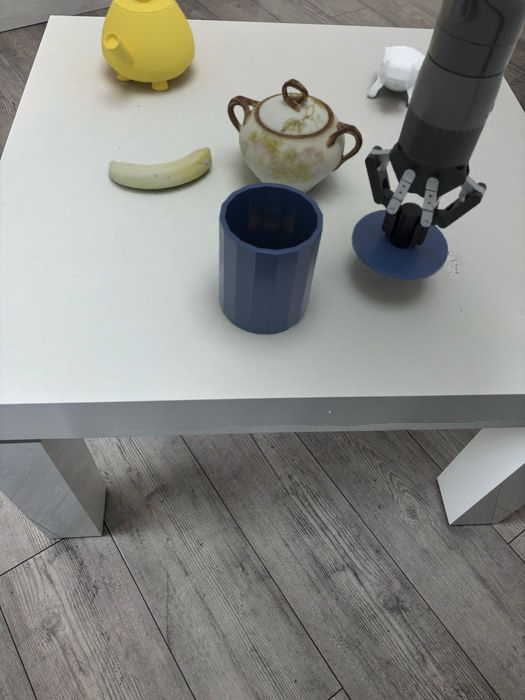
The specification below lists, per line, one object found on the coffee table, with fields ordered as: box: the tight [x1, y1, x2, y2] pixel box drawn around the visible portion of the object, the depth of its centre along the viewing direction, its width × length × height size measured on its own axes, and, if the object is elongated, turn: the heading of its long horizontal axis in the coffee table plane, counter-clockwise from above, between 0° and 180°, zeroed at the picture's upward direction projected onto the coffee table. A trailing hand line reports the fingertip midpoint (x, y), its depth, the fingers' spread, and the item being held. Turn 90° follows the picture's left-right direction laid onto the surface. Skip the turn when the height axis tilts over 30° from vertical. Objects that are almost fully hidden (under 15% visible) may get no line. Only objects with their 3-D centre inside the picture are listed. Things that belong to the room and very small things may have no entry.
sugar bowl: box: [226, 78, 364, 193], centre depth 76 cm, size 20×15×15 cm
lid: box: [351, 201, 449, 281], centre depth 65 cm, size 12×12×6 cm
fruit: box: [108, 146, 213, 190], centre depth 78 cm, size 7×15×3 cm, turn 101°
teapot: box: [100, 0, 196, 92], centre depth 89 cm, size 20×16×14 cm
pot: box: [218, 182, 324, 335], centre depth 62 cm, size 11×11×14 cm
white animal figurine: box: [367, 45, 426, 105], centre depth 94 cm, size 9×8×15 cm
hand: (401, 237), depth 66 cm, fingers closed on lid, 2 cm apart
